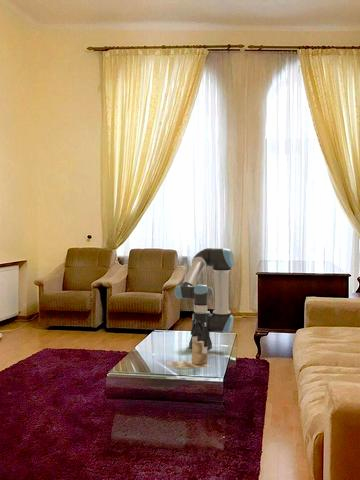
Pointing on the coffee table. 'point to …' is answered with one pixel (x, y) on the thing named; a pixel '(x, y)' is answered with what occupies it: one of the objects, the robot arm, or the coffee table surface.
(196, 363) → the block
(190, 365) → the board
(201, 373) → the coffee table surface
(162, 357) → the coffee table surface
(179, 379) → the coffee table surface
